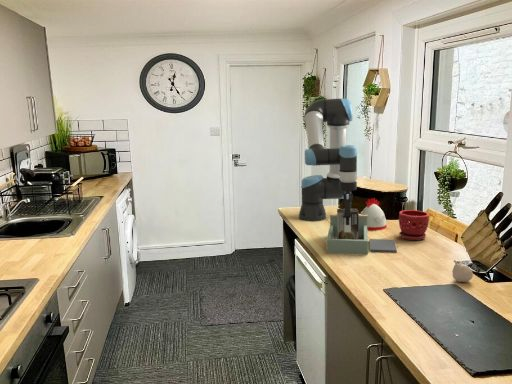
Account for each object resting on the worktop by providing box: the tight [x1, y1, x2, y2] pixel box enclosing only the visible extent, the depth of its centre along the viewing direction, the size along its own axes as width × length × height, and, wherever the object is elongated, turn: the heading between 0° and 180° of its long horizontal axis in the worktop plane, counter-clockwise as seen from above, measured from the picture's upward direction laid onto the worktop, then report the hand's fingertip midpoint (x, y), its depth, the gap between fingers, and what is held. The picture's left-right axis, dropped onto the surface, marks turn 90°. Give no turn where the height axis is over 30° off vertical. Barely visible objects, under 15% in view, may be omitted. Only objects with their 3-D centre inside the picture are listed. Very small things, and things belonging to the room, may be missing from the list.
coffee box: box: [336, 208, 360, 240], centre depth 203 cm, size 9×6×16 cm
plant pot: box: [398, 209, 430, 241], centre depth 210 cm, size 13×13×12 cm
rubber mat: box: [368, 238, 398, 254], centre depth 200 cm, size 15×11×1 cm
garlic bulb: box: [451, 259, 474, 283], centre depth 159 cm, size 7×6×8 cm
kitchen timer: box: [360, 197, 387, 231], centre depth 230 cm, size 14×14×15 cm
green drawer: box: [326, 213, 369, 256], centre depth 204 cm, size 25×17×11 cm
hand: (347, 227), depth 203 cm, fingers open, 13 cm apart
